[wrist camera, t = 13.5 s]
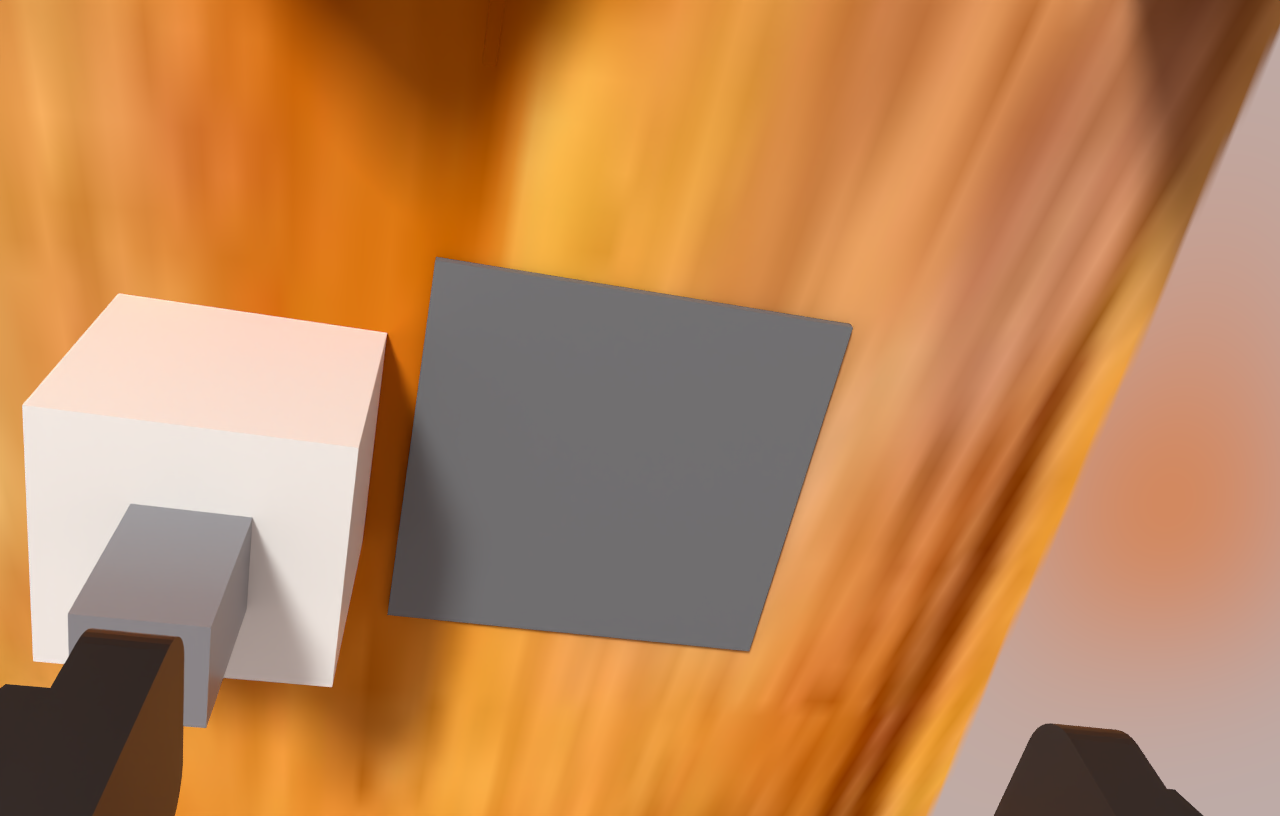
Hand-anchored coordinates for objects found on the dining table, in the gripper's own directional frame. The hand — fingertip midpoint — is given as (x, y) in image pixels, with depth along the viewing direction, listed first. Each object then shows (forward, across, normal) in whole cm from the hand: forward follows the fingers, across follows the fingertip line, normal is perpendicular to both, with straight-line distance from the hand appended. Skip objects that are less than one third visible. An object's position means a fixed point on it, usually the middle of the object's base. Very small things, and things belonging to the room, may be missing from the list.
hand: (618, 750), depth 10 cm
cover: (+35, +11, +17) cm, 41 cm away
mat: (+36, -5, +18) cm, 40 cm away
